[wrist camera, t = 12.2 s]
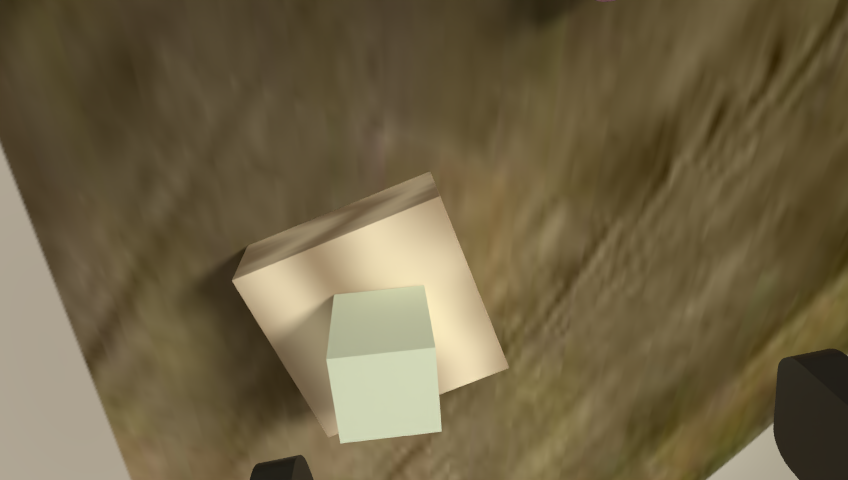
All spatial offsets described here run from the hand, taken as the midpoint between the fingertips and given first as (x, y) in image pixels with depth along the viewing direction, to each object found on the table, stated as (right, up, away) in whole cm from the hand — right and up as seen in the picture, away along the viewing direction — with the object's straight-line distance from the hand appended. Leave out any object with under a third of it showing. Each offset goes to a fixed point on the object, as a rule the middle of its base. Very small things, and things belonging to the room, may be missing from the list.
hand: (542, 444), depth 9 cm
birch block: (-5, 0, +27) cm, 28 cm away
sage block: (-4, -2, +23) cm, 23 cm away
